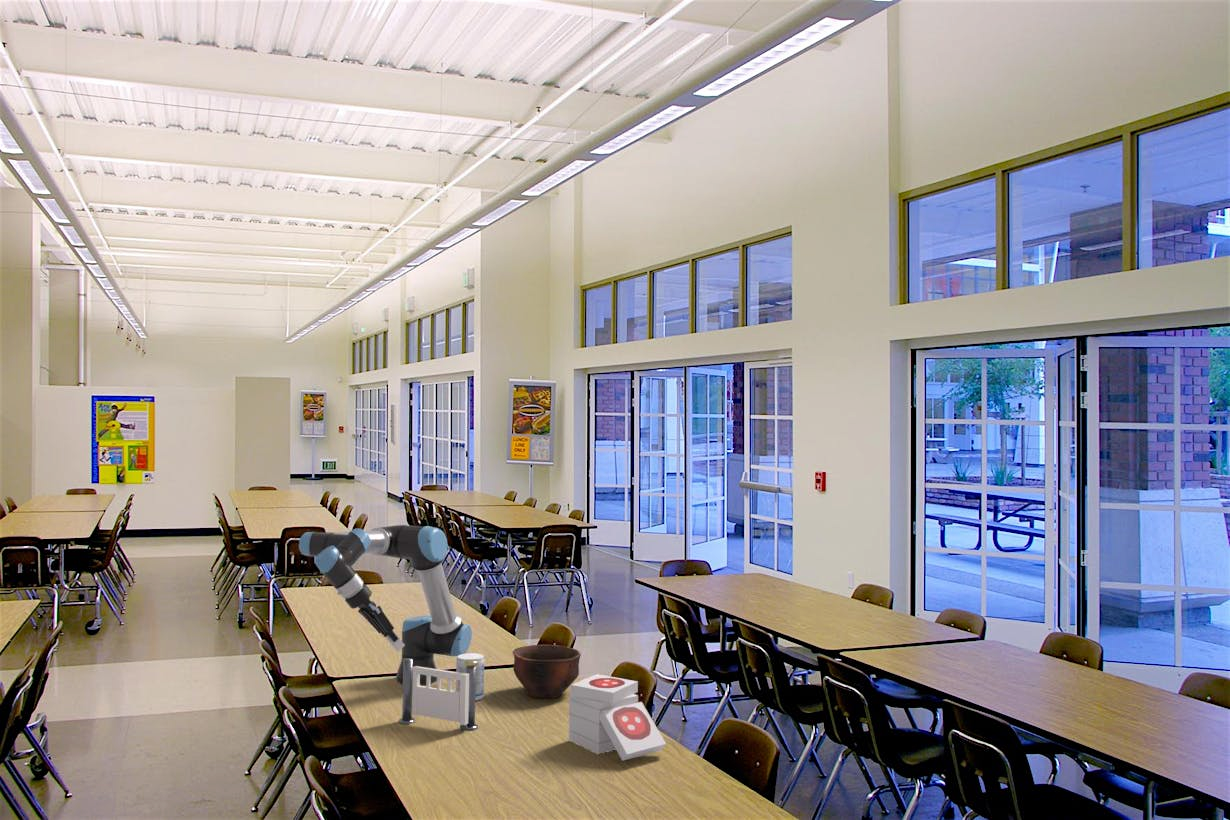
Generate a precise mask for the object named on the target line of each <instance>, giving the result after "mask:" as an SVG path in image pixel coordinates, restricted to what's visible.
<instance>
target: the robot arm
mask: <svg viewBox="0 0 1230 820" xmlns="http://www.w3.org/2000/svg"><path fill="white" fill-rule="evenodd" d="M298 549H299V551H300V553H301V554H302V555H303V556H306V557H311V558H313V557H315V558H314V563H315V566H316V567H317V568H318V570H319V572H320V573H321V574H323V576H324V577H325V578H326V579H327V580H328V582H329V583H330V584H331V585H332V586H333V587H334V589H335V590H336V591H337V592H336V594H337V595H340V596H341V597H342V598H343V599H344V600H345V602H346V603H347V605H348V606H349V608H351V609H357V608H358V610H357V611H358V613H359V614H360V615H361V616H362V617H363V618H364V619H366V621H367V622H368V623H369V624H370V625H371V626H372V627H373V628H374V629H375V630H376V632H378V634H381V635H382V636H383V637H384V638H386V640H387V641H388V643H389V644H390V645H391V646H392V647H393V648H394V650H395V651H396V652H400V651H401V660H400V663H399V665H398V666H399V667H398V669H397V672H396V680H397V681H398V682H397V681H396V680H395V681H396V682H397V683H399V682H400V684H402V683H403V659H405V658H412V659H413V667H414V666H420V667H425V668H432V669H437V665H436V662H435V659H434V655H439V656H440V655H441V656H448V657H457V656H458V655H461V654H466V653H467V651H468V650H469V648H470V645H471V642H472V637H473V632H472V631H473V630H472V628H471V626H470V624H469V625H468V624H467V623H463V620H462V616H461V615H460V614H459V613H456V609H455V607H454V604H453V599H452V596H451V593H450V589H449V585H448V581H447V579H446V578H447V577H446V575H445V572H444V568H443V564H442V563H443V562H444V560H445V557H446V556H447V553H448V539H447V536H446V535H445V532H444V531H443V530H441V528H438V527H435V526H434V527H433V526H431V525H430V526H429V525H428V526H427V525H426V526H421V525H420V526H419V525H408V524H406V525H405V524H397V525H388V526H382V527H374V528H372V529H370V530H364V529H363V528H358V527H357V528H354V529H352V530H350V531H333V532H332V531H331V532H329V531H328V532H325V531H324V532H316V531H311V532H310V531H307V532H304V533H303V534H301V536H300V538H299V542H298ZM364 554H371V555H373V556H385V557H390V558H396V559H404V560H409V562H410V566H411V568H412V569H413V570H414V571H416V572H417V573H418V577H419V579H420V583H421V587H422V589H423V594H424V597H425V600H426V603H427V604H426V605H427V607H428V610H429V614H430V615H422V616H421V615H420V616H414V617H409V618H407V619H405V620H404V621H403V623H402V629H401V638H400V637H399V636H398V634H397V633H396V632H395V631H394V629H395V627H394V626H393V624H392V622H391V621H390V620H389V619H388V617H387V615H386V614H385V612H384V611H383V608H381V606H380V605H378V606H377V604H376V603H375V602H374V601H372V600H371V599H370V598H371V596H372V593H373V592H372V590H371V589H370V588H369V587H368V586H367V584H365V583H364V580H363V579H362V578H361V577H360V576H359V574H358V573H357V571H356V570H355V569H354V568H353V565H355V563H357V561H358V560H359V559H360V558H361V557H362V556H363V555H364ZM426 679H427V675H422V674H420V684H422V685H426ZM434 682H437V677H435V676H431V683H434ZM412 686H413V682H412Z"/></svg>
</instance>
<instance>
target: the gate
mask: <svg viewBox="0 0 1230 820" xmlns="http://www.w3.org/2000/svg"><path fill="white" fill-rule="evenodd" d="M420 674H422V675H427V679H426V684H425V685H426V686H425V685H420ZM431 676H435V677H437V681H436V687H432V686H431ZM442 679H447V689H443V688H442ZM452 680H455V681H456V680H460V692H457V691H456V690H453V689H452V685H453V684H452V683H453V681H452ZM468 709H469V674H468V673H459V672H456V671H450V670H445V669H432V668H425V667H420V666H414V667H413V685H412V715H416V716H421V717H422V716H423V717H427V718H433V719H439V720H445V721H450V722H455V723H458V724H459V729H460V731H462V732H464V731H467V730H466V729H467V724H468Z"/></svg>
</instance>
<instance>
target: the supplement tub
mask: <svg viewBox="0 0 1230 820" xmlns="http://www.w3.org/2000/svg"><path fill="white" fill-rule="evenodd" d="M466 660H477V661H478V664H477V665H476V685H475V702H477V701H480V700H482V699H483V698H484V695H485V688H484V687H485V678H484V677H485V657H484V654H481V653H477V652H475V653H474V652H473V653H472V652H469V653H467V652H466V653H465V654H461V655H458V656H456V665H455V666H456V669H455V670H456V671H455V672H459V673H466V665H465V661H466ZM455 682H456V683H455V688H456V690H455V691H457V692H460V680H455Z"/></svg>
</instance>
